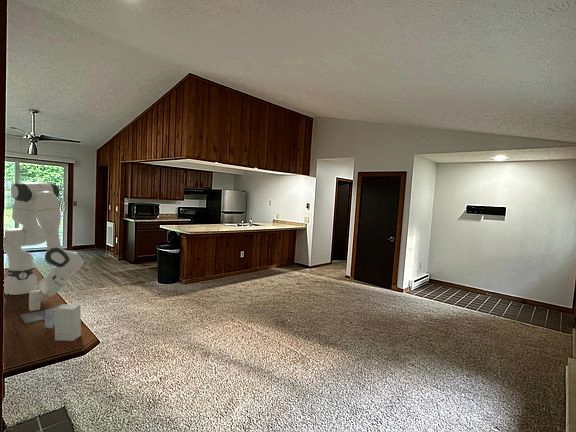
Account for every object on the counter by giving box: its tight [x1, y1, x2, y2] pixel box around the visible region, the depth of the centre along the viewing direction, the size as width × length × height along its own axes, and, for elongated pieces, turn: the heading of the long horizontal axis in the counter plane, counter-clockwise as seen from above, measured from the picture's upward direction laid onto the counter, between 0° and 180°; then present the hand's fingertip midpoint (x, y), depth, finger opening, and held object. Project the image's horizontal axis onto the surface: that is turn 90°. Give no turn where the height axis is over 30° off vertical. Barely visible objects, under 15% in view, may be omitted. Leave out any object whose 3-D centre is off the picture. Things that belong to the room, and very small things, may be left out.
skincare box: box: [54, 303, 82, 342], centre depth 139 cm, size 8×6×15 cm
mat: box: [19, 309, 46, 325], centre depth 158 cm, size 12×14×1 cm
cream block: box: [28, 289, 42, 312], centre depth 166 cm, size 4×4×10 cm
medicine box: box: [44, 304, 61, 329], centre depth 151 cm, size 8×4×9 cm, turn 168°
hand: (34, 298), depth 166 cm, fingers open, 8 cm apart
